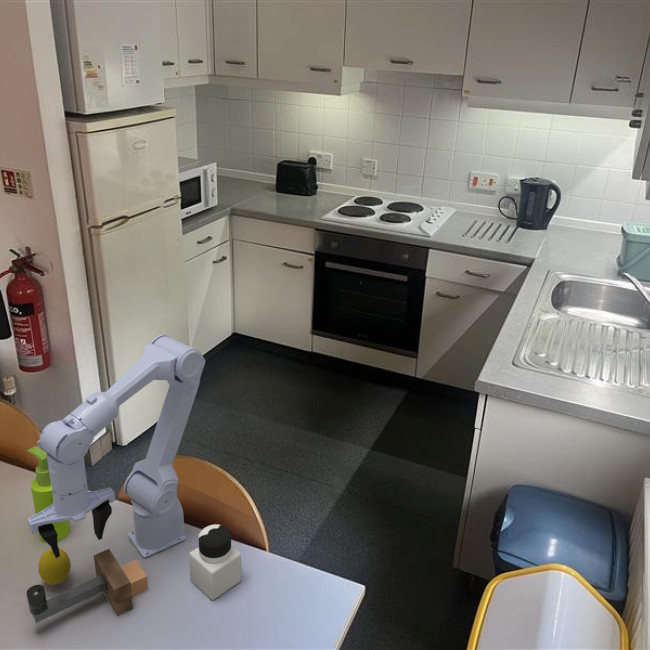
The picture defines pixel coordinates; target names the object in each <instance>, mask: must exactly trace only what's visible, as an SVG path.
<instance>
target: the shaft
mask: <svg viewBox="0 0 650 650" xmlns="http://www.w3.org/2000/svg"><path fill="white" fill-rule="evenodd" d="M45 590H46V589H45V586H44V585H42V584H35V585H32V586H30V587H29V588H28V589H27V591H26V599H27V604H28V609H29V613H30V614H31V615H32V618H33V620H34V622H35V624H37V623H40V622H41V621H44V620H46V619H48V618H50V617H52V616H54V615H56V614H59V613H61V612H63V611H65V610H68V609H69V608H72V607H74V606H77V604H81V603H83V602H85V601H86V600H89V599H90V598H93V597H96V596H98V595H99V594H102V593H103V592H104V591H106V590H108V587H107V581H106V579H105V578H104V576H103V575H101V576H98V577H94V578H93V579H92V578H91V579H90V580H88V581H85V582H83V583H81V584H78V585H77V586H75V587H71V588H70V589H67V590H65V591H63V592H61V593H58V594H57V595H55V596H52V597H49V598H48V599H47V596H46V591H45Z"/></svg>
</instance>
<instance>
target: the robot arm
mask: <svg viewBox="0 0 650 650" xmlns="http://www.w3.org/2000/svg"><path fill="white" fill-rule="evenodd" d="M205 363H206V360H205V357H204V356H203V354H202V352H201V351H200V350H199V349H198V348H195V347H192V346H189V345H188V344H185V343H183V342H182V341H179V340H176V339H174V338H173V337H171V336H169V335H167V334H159V335H157V336H155V337H154V338H153V339H152V340H151V341H150V342H149V343H148V344H146V345H145V346H144V347H143V350H142V355H141V357H140V358H139V359H138V360H137V361H136V362H135V363H134V364H133V365H132V366H131V367H130V368H129V369H128V370H127V371H126V372H124V373H123V374H122V376H120V377H119V378H118V379H117V381H116V382H114V384H112V385H111V386H110V387H109V388H108V389H107V390H106V391H98V392H97V391H95V392H94V393H93V394H90V395H88V396H87V397H86V398H85V400H84V401H83V402H82V403H81V404H80V405H78V406H77V407H76V408H75V409H74V410H72V411H71V412H70V413H69V414H67V416H65V417H64V418H63V419H62V420H60V419H59V420H56V421H53V422H50V423H48V424H47V425H46V426H45V427H44V428H43V429H42V431H40V432H41V433H40V436H39V440H37V441H36V444H37V447H39V448H40V449H41V450H43V451H45V452H46V455H47V461H48V468H49V474H50V480H51V487H52V493H53V500H54V503H53V504H52V505H50V506H49V507H47V508H46V509H44V510H42V511H41V512H39V513H38V514H36V513H35V514H33V515H32V516H29V517H28V518H27V523H28V528H29V530H30V532H31V534H34V533H37V532H38V534H39V533H40V535H41V537H42V538H43V540H44V541H46V542H47V543H46V542H45V543H46V544H48V545H49V546H50V549H51V548H52V552H53V554H54V555H55V557H56V558H58V557H60V552H59V548H60V547H59V545H58V544H59V543H58V542H59V541H58V542H57V535H58V534H57V532H56V530H55V529H54V525H53V524H52V523H56V522H63V521H72V522H74V523H78V522H81V521H83V520H85V519H86V517H87V516H86V515H87V514H88V513H90V512H91V513H92V514H91V515H92V521H93V522H92V523H93V532H94V535H95V536H96V538H97V540H98V541H101V540H102V539H103V535H104V531H105V527H106V524H107V522H108V519H109V518H110V516H111V515H112V514H113V513H112V512H113V507H112V506H111V503H114V502H116V497H115V496H116V494H115V491H114V490H113V489H112V487H107V488H103V489H98V490H93V491H92V490H91V491H89V487H88V480H87V473H86V465H85V456H86V455H87V453H88V451H89V448H90V446H91V444H92V443H93V442H94V440H95V437H96V436H97V435H98V434H100V432H102V431H103V430H104V429H105V428H106V427H107V426H108V425H110V424H111V423H112V422H113V421H114V420H115V419H116V418H117V417H118V415H119V411H120V406H121V405H123V404H124V403H125V402H127V400H130V398H132V397H133V396H135V394H137V393H138V392H140V391H141V390H142V389H144V388H145V387H146V386H148V385H150V383H152V382H153V381H167V383H168V388H167V389H168V390H167V392H166V395H165V398H164V402H163V404H162V407H161V410H160V413H159V417H158V420H157V423H156V426H155V429H154V432H153V436H152V438H151V441H150V444H149V447H148V451H147V454H146V457H145V459H142V460H139V461H137V462H135V463H134V465H133V468H132V471H131V472H130V473H129V475H128V476H127V478H126V479H125V480H124V485H123V492H124V494H125V495H126V496H127V497H128V498H130V503H131V504H132V513H133V523H134V531H131V532H129V533H128V535H127V536H128V538H129V540H130V541H131V542H132V543H133V545H134V546H135V548H136V550H137V551H138V552H139V554H140V556H141V557H142V558H143V559H146V558H148V557H151V556H153V555H155V554H157V553H160V552H162V551H164V550H166V549H168V548H171V547H173V546H175V545H177V544H179V543H181V542H183V541H186V539H187V537H186V535H185V524H184V523H185V520H184V511H183V507H182V504H181V502H180V500H179V498H178V490H177V489H178V485H179V482H180V480H179V478H178V475H177V473H176V470H175V468H174V462H175V459H176V456H177V454H178V449H179V448H180V444H181V441H182V437H183V435H184V431H185V428H186V425H187V423H188V419H189V416H190V413H191V411H192V407H193V404H194V401H195V399H196V395H197V392H198V389H199V386H200V383H201V377H202V373H203V371H204V367H205V365H206V364H205Z"/></svg>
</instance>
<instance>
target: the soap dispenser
mask: <svg viewBox="0 0 650 650" xmlns="http://www.w3.org/2000/svg"><path fill="white" fill-rule="evenodd" d="M26 452H27V453H29V454H31V455H32V456H34V457H35V458H36V459H37V460H38V464H39V465H37V466H36V467H35V476H36V477H35V478H34V479H32V482H31V484H30V489H31V496H32V500H33V507H34V512H35V515H36V514H38V513H39V512H41V511H42V510H44V509H46V508H47V507H49V506H50V505H52V504H53V503H54V500H53V493H52V487H51V480H50V474H49V468H48V461H47V455H46V452H45V451H43V450H41V449H40V448H39V446H38V445H36V446H35V445H34V446H33V447H31V448H29V449H27V450H26ZM69 521H70V520H69ZM69 521H63V522H56V523H52V524H53V525H54V529H55V530H56V532H57V534H58V535H57V542H60V541H62V540H64V539H65V538H67V536H68V535H69V534H70V530H71V529H70V522H69ZM38 536H39V539H40V540H41V541H42V542H43V543H46V544H48V543H47V542H46V541H44V540H43V538H42V537H41V535H40V533H39V532H38Z"/></svg>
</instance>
